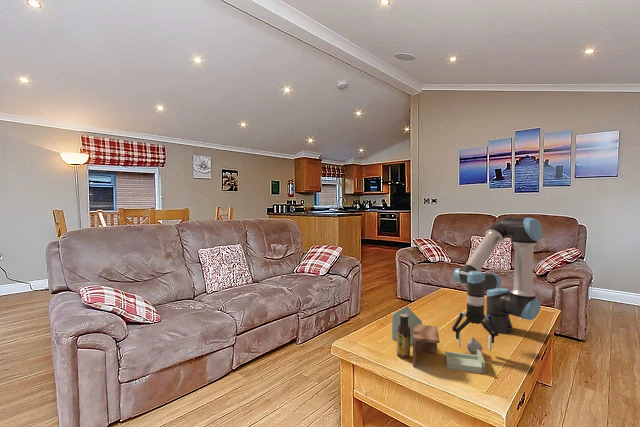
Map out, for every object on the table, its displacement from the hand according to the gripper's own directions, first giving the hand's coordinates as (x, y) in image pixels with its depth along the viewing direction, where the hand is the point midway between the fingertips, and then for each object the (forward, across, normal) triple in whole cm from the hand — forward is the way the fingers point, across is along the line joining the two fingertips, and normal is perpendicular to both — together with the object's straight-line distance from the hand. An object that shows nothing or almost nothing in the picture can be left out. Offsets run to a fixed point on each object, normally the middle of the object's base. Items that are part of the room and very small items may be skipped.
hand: (474, 347), depth 159 cm
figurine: (+3, 0, 0) cm, 3 cm away
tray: (+3, +6, +13) cm, 14 cm away
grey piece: (+4, +30, -6) cm, 31 cm away
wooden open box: (+3, +23, +13) cm, 26 cm away
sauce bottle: (+4, +33, +12) cm, 35 cm away
